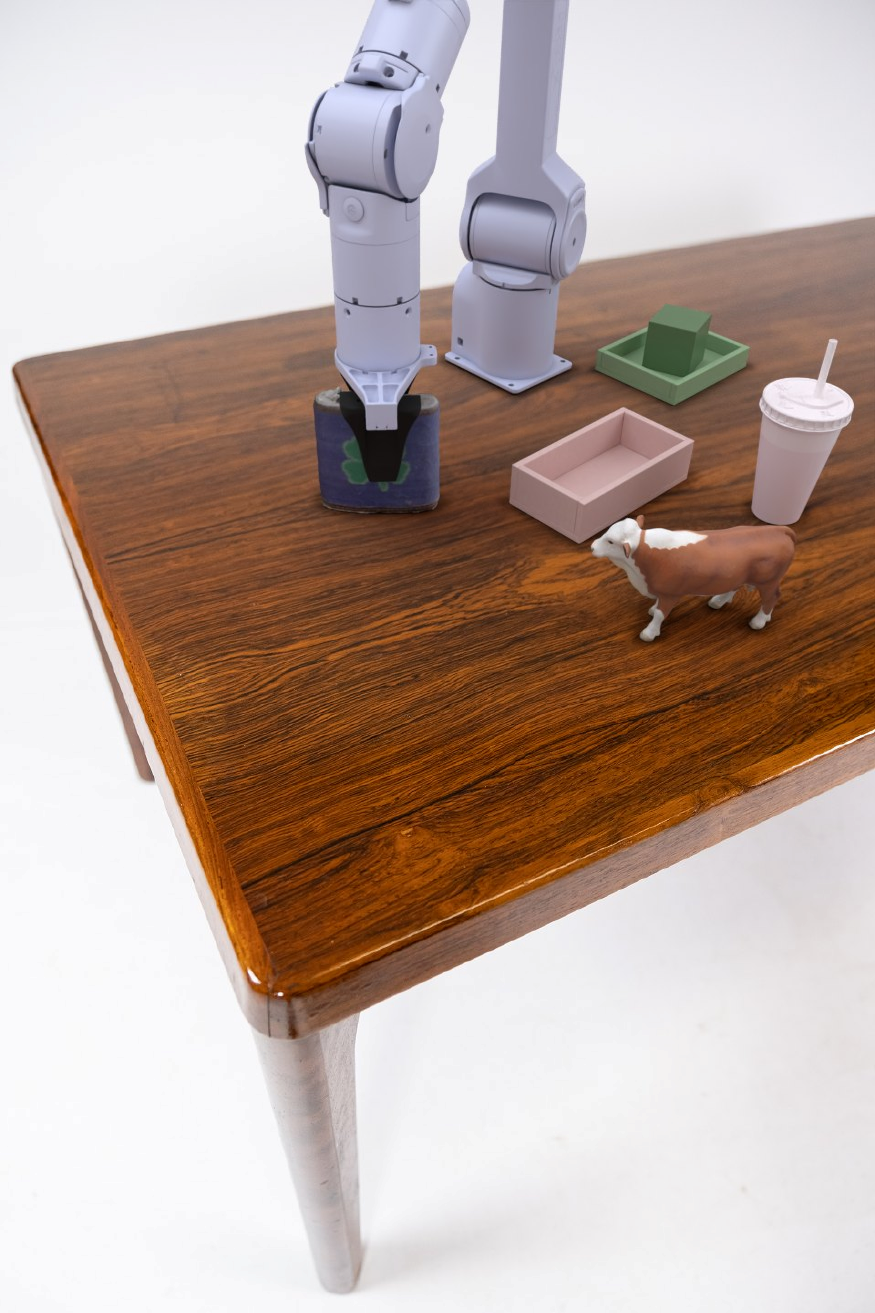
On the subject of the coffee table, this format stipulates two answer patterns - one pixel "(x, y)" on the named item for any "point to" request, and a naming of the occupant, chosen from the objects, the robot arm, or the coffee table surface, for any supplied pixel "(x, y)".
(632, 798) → the coffee table surface
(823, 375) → the smoothie
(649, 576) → the bull figurine
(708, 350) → the green tray
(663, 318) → the green block
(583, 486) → the pink tray
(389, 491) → the flask
